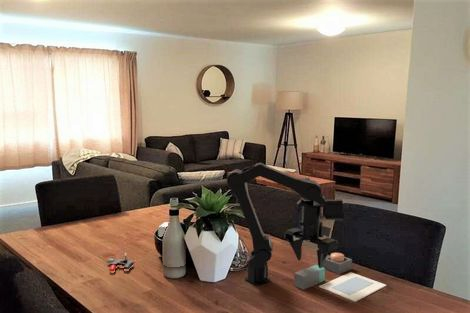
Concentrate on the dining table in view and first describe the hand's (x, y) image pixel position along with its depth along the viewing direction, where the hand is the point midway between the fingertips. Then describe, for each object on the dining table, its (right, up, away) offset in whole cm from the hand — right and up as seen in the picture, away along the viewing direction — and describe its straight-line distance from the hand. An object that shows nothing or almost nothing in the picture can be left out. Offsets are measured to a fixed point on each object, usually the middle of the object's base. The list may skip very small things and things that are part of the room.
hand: (309, 263), depth 146 cm
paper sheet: (+14, -7, -2) cm, 16 cm away
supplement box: (-51, -3, +27) cm, 58 cm away
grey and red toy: (-69, -6, +13) cm, 70 cm away
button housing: (+13, -5, +14) cm, 19 cm away
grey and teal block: (0, -7, +1) cm, 7 cm away
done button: (+13, -3, +14) cm, 19 cm away
